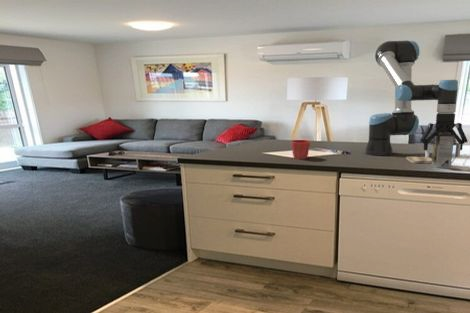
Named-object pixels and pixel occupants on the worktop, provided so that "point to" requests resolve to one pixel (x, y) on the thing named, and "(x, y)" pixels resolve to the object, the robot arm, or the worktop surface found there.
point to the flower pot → (300, 148)
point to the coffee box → (442, 150)
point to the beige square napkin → (419, 159)
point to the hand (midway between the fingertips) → (441, 156)
